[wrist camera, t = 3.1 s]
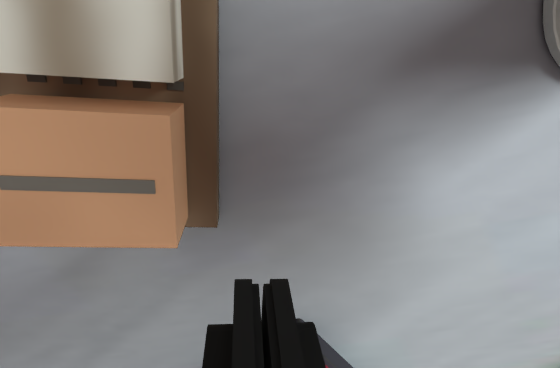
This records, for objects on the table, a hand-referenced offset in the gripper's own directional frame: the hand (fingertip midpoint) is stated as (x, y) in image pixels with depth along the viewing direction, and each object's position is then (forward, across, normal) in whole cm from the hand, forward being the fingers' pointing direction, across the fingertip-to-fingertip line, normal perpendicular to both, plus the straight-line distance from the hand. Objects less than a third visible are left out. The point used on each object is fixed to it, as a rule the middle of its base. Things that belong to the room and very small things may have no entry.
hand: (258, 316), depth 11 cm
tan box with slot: (+14, +9, 0) cm, 16 cm away
